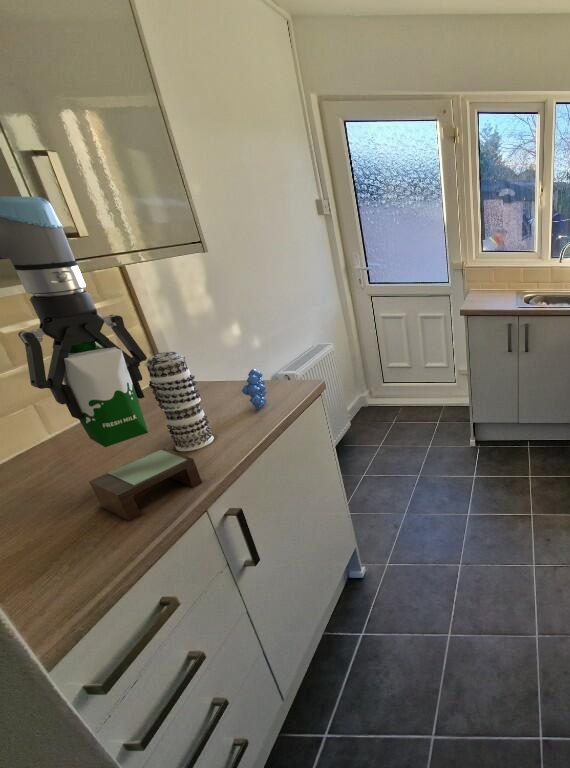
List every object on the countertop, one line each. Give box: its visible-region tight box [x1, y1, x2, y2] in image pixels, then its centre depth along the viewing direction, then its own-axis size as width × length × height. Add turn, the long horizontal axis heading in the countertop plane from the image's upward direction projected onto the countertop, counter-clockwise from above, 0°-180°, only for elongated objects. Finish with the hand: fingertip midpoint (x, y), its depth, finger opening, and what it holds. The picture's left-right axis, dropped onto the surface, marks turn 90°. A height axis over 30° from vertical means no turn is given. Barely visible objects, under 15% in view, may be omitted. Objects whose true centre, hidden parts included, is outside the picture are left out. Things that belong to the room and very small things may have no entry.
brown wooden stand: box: [88, 447, 203, 522], centre depth 90 cm, size 11×14×7 cm
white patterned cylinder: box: [143, 351, 215, 452], centre depth 106 cm, size 9×9×25 cm
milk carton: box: [63, 341, 149, 448], centre depth 81 cm, size 9×9×20 cm
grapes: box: [241, 368, 268, 410], centre depth 129 cm, size 12×7×12 cm, turn 19°
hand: (110, 406), depth 82 cm, fingers closed on milk carton, 9 cm apart
